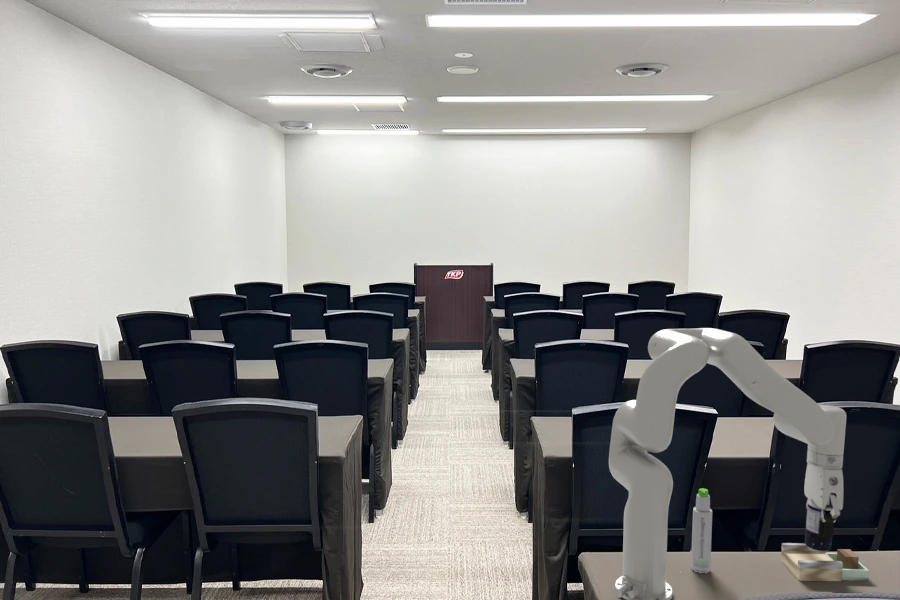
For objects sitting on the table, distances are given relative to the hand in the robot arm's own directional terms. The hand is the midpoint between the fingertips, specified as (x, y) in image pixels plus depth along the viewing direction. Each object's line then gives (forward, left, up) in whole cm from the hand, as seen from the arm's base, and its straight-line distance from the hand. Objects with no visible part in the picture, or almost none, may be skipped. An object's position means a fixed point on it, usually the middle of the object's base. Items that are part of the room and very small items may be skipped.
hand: (818, 530), depth 169 cm
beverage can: (0, 0, -5) cm, 5 cm away
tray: (+4, -5, -10) cm, 12 cm away
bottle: (-18, +21, -10) cm, 30 cm away
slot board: (-1, +1, -10) cm, 10 cm away
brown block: (+4, -4, -8) cm, 9 cm away
